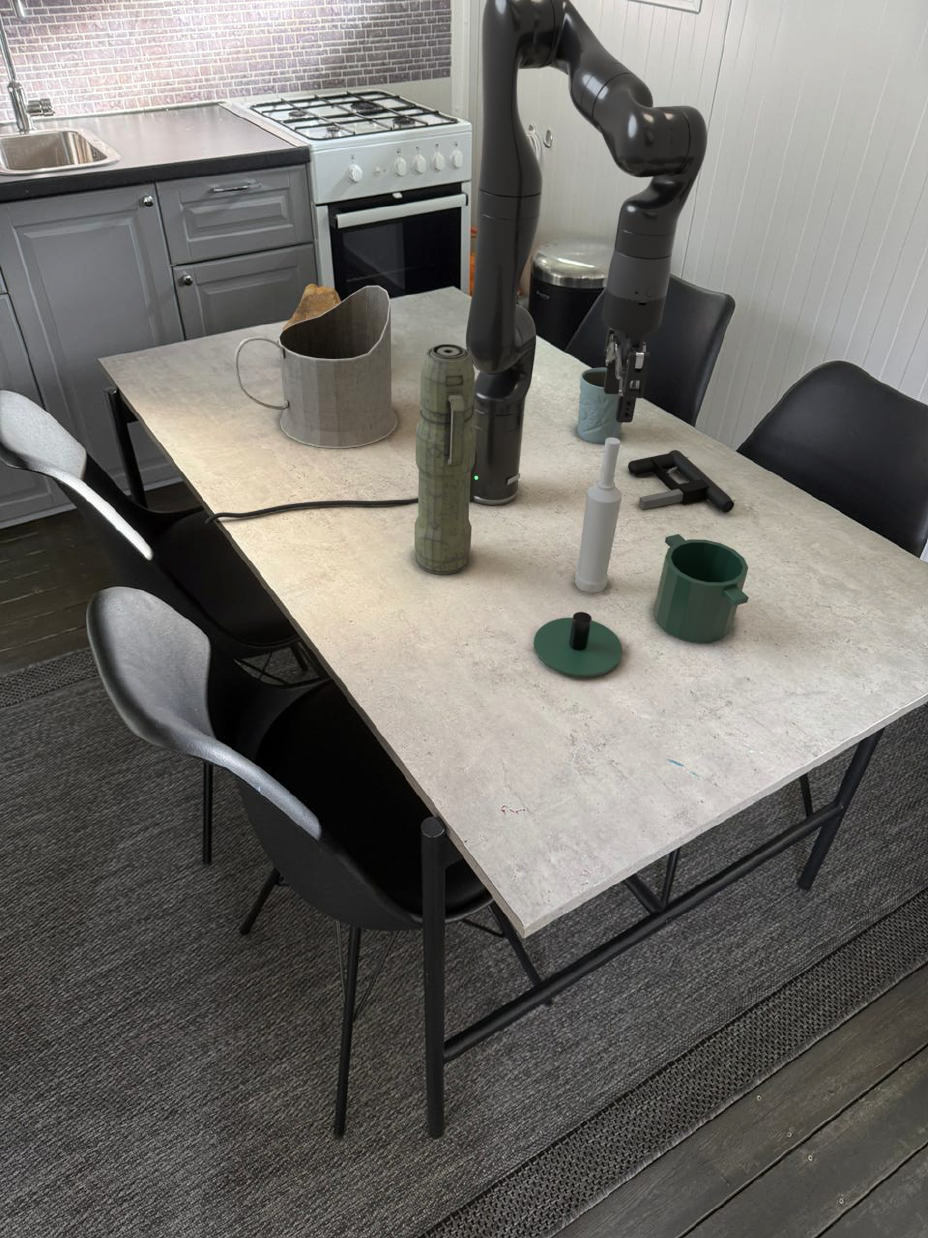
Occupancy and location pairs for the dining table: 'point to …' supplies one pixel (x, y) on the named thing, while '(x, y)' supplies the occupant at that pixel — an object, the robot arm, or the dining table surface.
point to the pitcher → (337, 373)
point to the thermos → (445, 460)
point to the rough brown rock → (314, 303)
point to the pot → (699, 589)
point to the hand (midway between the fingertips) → (617, 406)
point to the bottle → (599, 524)
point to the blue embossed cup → (597, 408)
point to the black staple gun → (685, 493)
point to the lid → (578, 646)
